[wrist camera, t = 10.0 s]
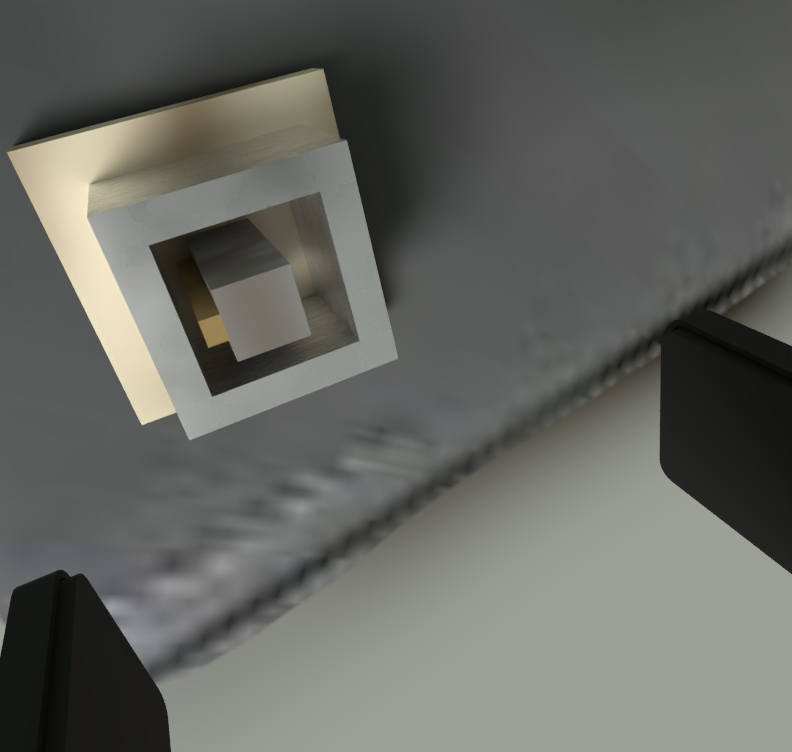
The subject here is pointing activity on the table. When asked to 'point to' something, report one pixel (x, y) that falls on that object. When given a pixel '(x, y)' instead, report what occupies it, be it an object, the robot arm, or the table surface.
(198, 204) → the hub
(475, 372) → the table surface
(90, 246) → the post block
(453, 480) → the table surface
